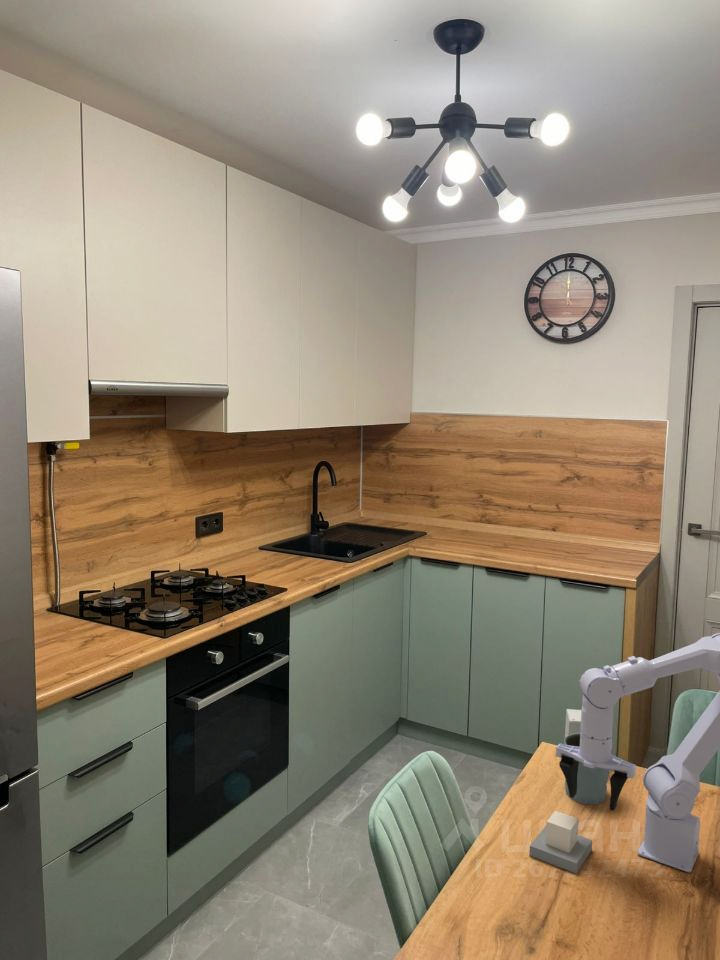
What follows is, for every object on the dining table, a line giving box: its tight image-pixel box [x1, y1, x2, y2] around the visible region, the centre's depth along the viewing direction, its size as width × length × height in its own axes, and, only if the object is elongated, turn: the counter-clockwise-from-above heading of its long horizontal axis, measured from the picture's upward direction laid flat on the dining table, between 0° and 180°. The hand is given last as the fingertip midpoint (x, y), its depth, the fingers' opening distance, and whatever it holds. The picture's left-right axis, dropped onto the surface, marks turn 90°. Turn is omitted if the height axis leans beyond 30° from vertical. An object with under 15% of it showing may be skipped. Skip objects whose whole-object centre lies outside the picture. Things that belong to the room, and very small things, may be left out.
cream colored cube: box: [545, 810, 580, 853], centre depth 138 cm, size 5×5×4 cm
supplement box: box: [564, 708, 582, 738], centre depth 172 cm, size 7×7×13 cm
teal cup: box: [563, 733, 613, 806], centre depth 159 cm, size 10×10×12 cm
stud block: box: [529, 825, 593, 875], centre depth 138 cm, size 9×9×4 cm
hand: (592, 801), depth 139 cm, fingers open, 7 cm apart
